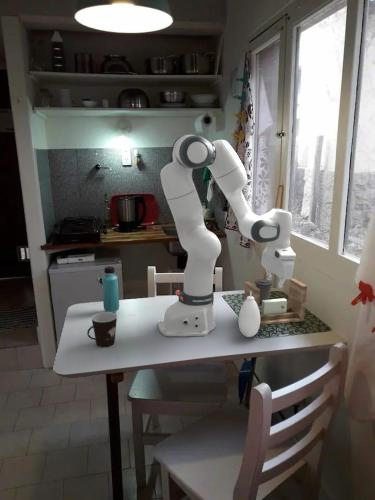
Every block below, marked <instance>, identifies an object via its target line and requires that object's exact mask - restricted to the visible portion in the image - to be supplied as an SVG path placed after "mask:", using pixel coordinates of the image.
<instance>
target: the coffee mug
mask: <svg viewBox="0 0 375 500" xmlns="http://www.w3.org/2000/svg"><path fill="white" fill-rule="evenodd" d="M117 321H118V315H117V313H115V312H106V311H103V312H98V313H95V314H93V315H92V317H91V322H92V326H90V327H89V328H88V329H87V332H86V334H87V337H88V338H89V339H90V340H94V341H95V344H96V347H99V348H101V349H102V348H105V349H106V348H110V347H112V346H114V345H115V342H116V333H117V331H116V330H117ZM92 329H93V333H94V337H92V336H91V335H90V331H92Z"/></svg>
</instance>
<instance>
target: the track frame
mask: <svg viewBox="0 0 375 500" xmlns="http://www.w3.org/2000/svg"><path fill="white" fill-rule="evenodd" d="M307 290H308V285H306V284H305V283H303V282H302V281H299V280H298V279H296V278H293V277H292V278H291V279H289V287H288V297H287V298H288V299H287V310H286V313H282V314H272V315H262V316H261V309H260V304H261V303H260V289H258V288H257V287H256V285H255V284H253V283H252V282H251V281H245V283H244V298H243V299H244V301H243V303H244V302H245V300H246V299H247V297H248V296H250V292H251V296H253V297H254V300H255V301H256V303H257V305H258V308H259V312H260V325H264V326H267V325H266V324H273V325H280V324H279V323H282V324H289V323H290V322H292V323H299V322H300V321H301V322H304V321H305V312H306V300H307Z"/></svg>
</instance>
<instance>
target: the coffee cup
mask: <svg viewBox="0 0 375 500" xmlns="http://www.w3.org/2000/svg"><path fill="white" fill-rule="evenodd" d="M254 285H255V286H256V287H257V288H258V289H260V303H259V304H262V300H270V294H271V288H272V285H273V282H272V280H267V279H265V278H260V279H256V280H255V281H254Z"/></svg>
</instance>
